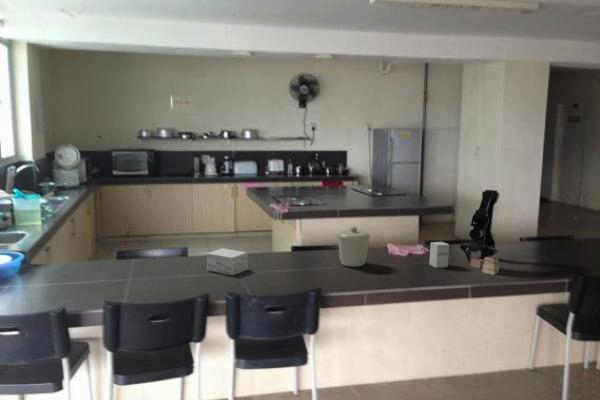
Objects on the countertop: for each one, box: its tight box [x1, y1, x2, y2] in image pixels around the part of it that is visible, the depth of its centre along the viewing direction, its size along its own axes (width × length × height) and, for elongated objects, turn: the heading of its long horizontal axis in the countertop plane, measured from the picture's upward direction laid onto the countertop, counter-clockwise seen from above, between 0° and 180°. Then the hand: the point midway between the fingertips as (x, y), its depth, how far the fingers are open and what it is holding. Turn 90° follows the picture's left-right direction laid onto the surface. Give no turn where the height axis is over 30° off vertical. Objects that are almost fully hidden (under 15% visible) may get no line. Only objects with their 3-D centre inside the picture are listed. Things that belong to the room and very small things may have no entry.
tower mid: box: [484, 256, 499, 267], centre depth 268 cm, size 5×5×4 cm
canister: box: [336, 225, 371, 268], centre depth 278 cm, size 18×18×21 cm
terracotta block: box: [470, 257, 484, 269], centre depth 280 cm, size 5×5×4 cm
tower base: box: [482, 264, 500, 276], centre depth 269 cm, size 6×6×4 cm
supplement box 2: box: [206, 248, 249, 276], centre depth 265 cm, size 17×13×9 cm
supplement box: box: [428, 241, 450, 269], centre depth 279 cm, size 7×7×13 cm
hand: (477, 264), depth 280 cm, fingers open, 9 cm apart
